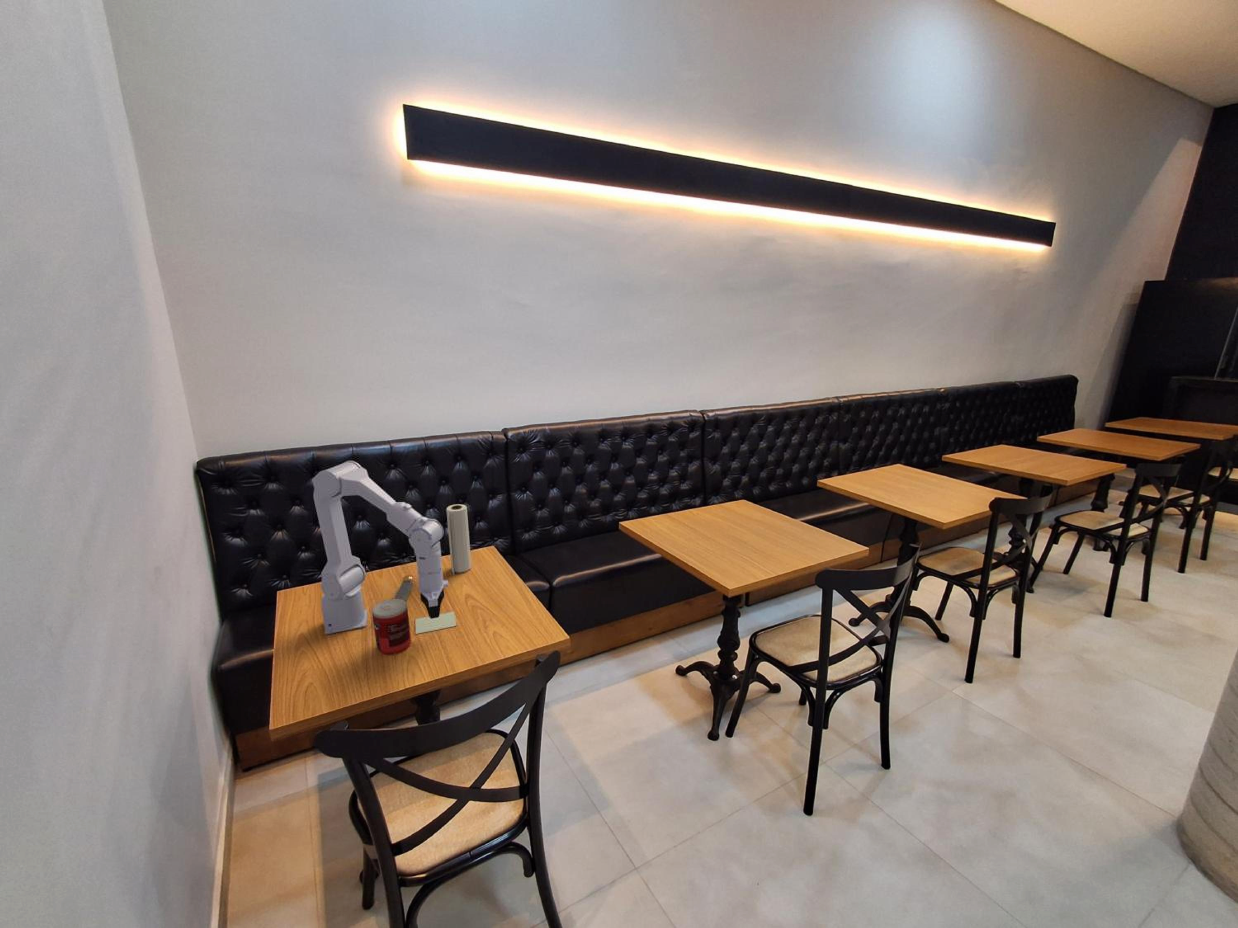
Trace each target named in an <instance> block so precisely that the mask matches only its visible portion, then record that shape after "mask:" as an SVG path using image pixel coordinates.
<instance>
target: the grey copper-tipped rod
mask: <svg viewBox="0 0 1238 928" xmlns="http://www.w3.org/2000/svg"><path fill="white" fill-rule="evenodd" d="M402 578H403V581H402V582H401V585H400V586H399V588H398V590H397V592H396V594H395V595H394V598H393V599H401V600H403V601H405V602H406V601H407V600H408V597H409V595H410V593H411V592H412V590H413V588H414V586H415V584H414V583H415V582H414V576H413V575H410V574H408V575H405V576H404V577H402ZM406 603H407V602H406Z"/></svg>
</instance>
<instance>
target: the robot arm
mask: <svg viewBox="0 0 1238 928" xmlns="http://www.w3.org/2000/svg"><path fill="white" fill-rule="evenodd" d="M311 480H312V484H313V495H312V496H313V500H314V501H313V502H314V505H315V510H316V514H317V518H318V524H319V527H320V528H319V529H320V532H321V536H322V540H323V541H322V542H323V547H324V550H325V554H326V558H327V562H326V563H325V565H324V567H323V569H322V571H321V573H320V576H321V583H320V588H321V589H320V590H321V591H322V593H323V595H322V597H321V614H322V619H323V626H324V634H325V635H329V634H335V633H339V632H340V633H341V632H346V631H350V630H355V629H361V628H365V627H366V626H367V622H368V615H369V610H368V609H365V607H364V599H363V592H362V588H363V582H364V581H365V579H366V577H367V573H366V570H365V568H364V566H363V565H362V564H361V559H360V558H359V557H357V556H355V555H352V551H351V545H350V540H349V536H348V530H347V525H346V521H345V516H344V512H343V507H342V506H343V505H342V502H341V499H342V497H345V496H347V497H348V496H359V497H361V498H363V499H364V500H365V501H367V502H368V503H370V504H372V505H374V506H375V507H376V508H378V509H379V510H381V511H382V512H384V513H385V514H386V520H387V522H389V523H390V524H391V525H393V526H394V527H395V528H397V529H398V530H399V531H401V532H402V533H403V534H405V536H407V537H408V542H409V544H410V547H412V549H413V550H414V555H415V557H416V567H417V576H418V577H417V580H418V591H419V593H420V597H419V598H420V601H421V602H422V604H423V605H424V606H425V609H426V612H427V614H428V617H430V619H433V618H438V617H439V615H440V614H441V606H442V602H443V600H444V598H445V589H444V588H445V587H448V586H449V581H448V580H447V579H446V580H445V579H444V574H443V562H442V550H441V541H440V540H441V539H442V538H443V536H444V534H445V532H444V526H442V524H441V523H440V522H439V521H438V520H437V519H435V518H428V517H426V516H423V515H421V513H420V512H418V511H417V510H415V509H414V508H412V507H413V506H412V505H411V504H409V503H406V502H405V501H402V502H401V501H399V502H398V501H397V502H396V500H395V499H393V497H391V496H390V494H388V493H387V492H386V491H385V490H384V489H382V487H380V486H379V485H378V484H377V483H376V482H375V481H373V479H371V478H370V477H369V473H368V471H367V469H366V468H364V467H362V466H361V464H359V463H358V462H356V461H354V460H346V461H345V462H343V463H341V464H338V465H335V466H333V467H330V468H328V469H325V470H321V471H319V472H318V473H317V474H315V476H314V477H313V478H312V479H311Z"/></svg>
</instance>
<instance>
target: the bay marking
mask: <svg viewBox="0 0 1238 928" xmlns="http://www.w3.org/2000/svg"><path fill="white" fill-rule="evenodd" d="M456 621H457V620H456V616H455V611H451V612H445V613H440V615H439V617H438V618H433V619H430V617H429V616H425V617H420V618H415V620H414V622H415V635H420V634H426V633H430V632H434V631H440V630H444V629H450V628H453V627H457V622H456Z"/></svg>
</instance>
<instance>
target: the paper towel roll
mask: <svg viewBox="0 0 1238 928" xmlns="http://www.w3.org/2000/svg"><path fill="white" fill-rule="evenodd" d="M445 510H446V518H447V520H446V521H447V531H448V533H447V534H448V542H449V543H448V544H449V553H450V564H451V572H452V574H453V576H455V573H464V572H467V571H469V570H471V568H472V557H471V545H470V531H469V519H468V518H469V517H468V507H467V505H465V504H459V503H457V504H452V505H448V507H446V509H445Z"/></svg>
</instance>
